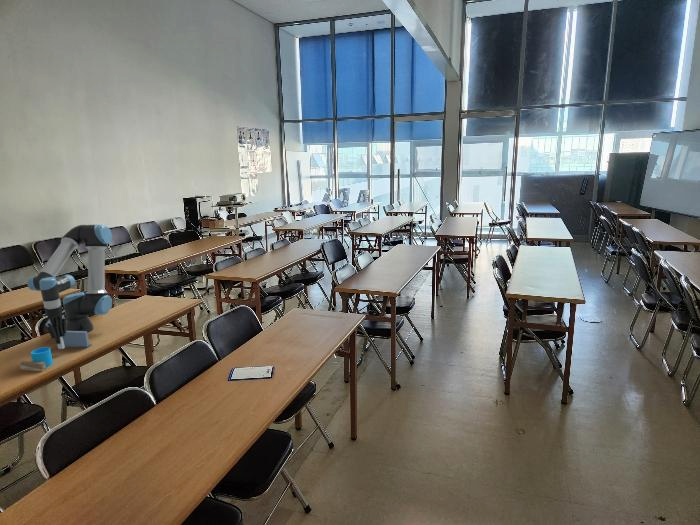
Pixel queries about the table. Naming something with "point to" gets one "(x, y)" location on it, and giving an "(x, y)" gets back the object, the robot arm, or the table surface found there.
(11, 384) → the table surface
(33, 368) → the block
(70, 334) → the screen
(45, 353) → the mug
